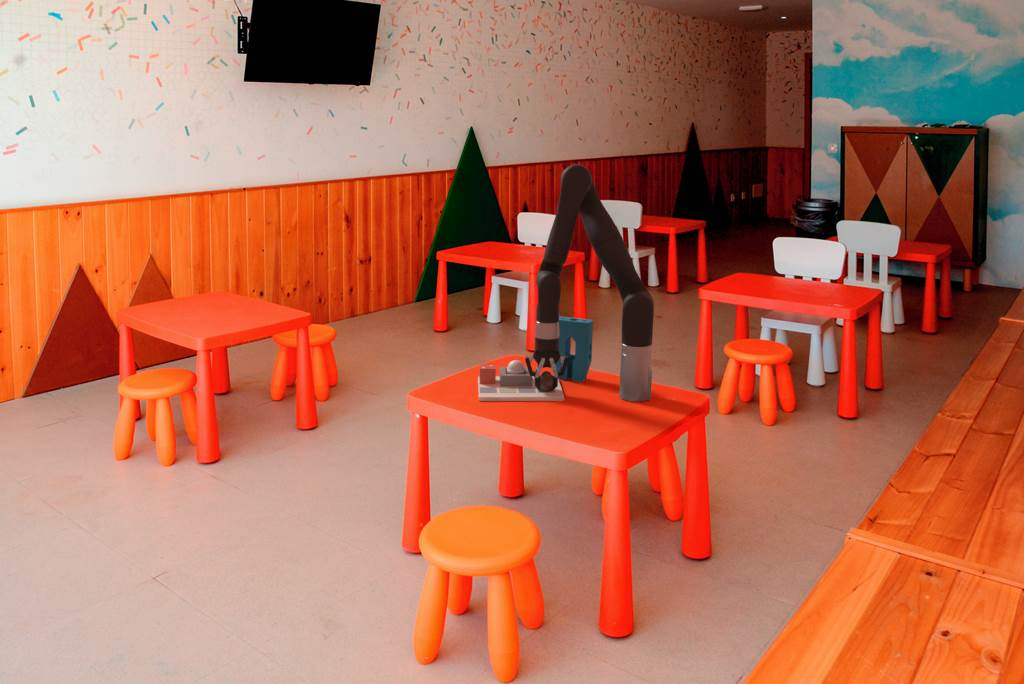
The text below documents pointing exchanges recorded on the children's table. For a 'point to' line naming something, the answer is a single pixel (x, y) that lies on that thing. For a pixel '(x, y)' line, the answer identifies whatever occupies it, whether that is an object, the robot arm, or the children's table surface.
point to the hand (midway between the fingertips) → (546, 388)
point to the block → (583, 348)
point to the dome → (515, 367)
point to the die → (487, 374)
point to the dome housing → (514, 378)
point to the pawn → (546, 382)
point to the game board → (517, 392)
